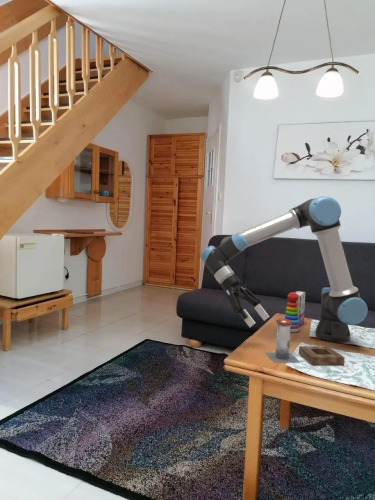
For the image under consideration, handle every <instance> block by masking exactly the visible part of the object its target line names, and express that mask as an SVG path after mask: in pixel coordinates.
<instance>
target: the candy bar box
mask: <svg viewBox="0 0 375 500" xmlns="http://www.w3.org/2000/svg"><path fill="white" fill-rule="evenodd" d="M294 292H295V293H297V294H298V297H299V298H298V301H297V303H298V306H297V308H298V310H297V311H298V316H299V318H298V320H299V323H298V324H299V327H298V328H300V327H301V326H302V325H303V324H304V323H305V309H306V308H305V307H306V292H305V291H299V290H297V291H294Z"/></svg>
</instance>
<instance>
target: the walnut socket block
mask: <svg viewBox="0 0 375 500" xmlns="http://www.w3.org/2000/svg"><path fill="white" fill-rule="evenodd" d="M298 355H299V356H300V357H302V359H304V360H305V361H306V362H307V363H308V364H309V365H311V366H316V367H319V366H320V367H321V366H323V367H327V366H328V367H330V366H331V367H334V366H335V367H340V366H341V367H344V366H345V358H346V357H345V356H343V355H342V354H341V353H339V352H337V351H336V350H334V349H333V348H332V347H330V346H322V345H321V346H318V345H317V346H314V345H313V346H308V345H307V346H303V345H301V346H298Z"/></svg>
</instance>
